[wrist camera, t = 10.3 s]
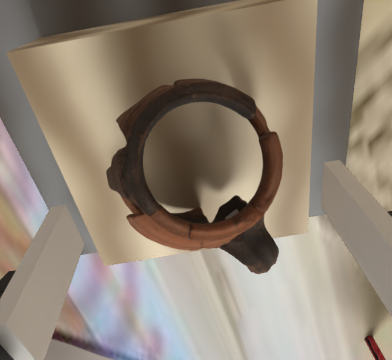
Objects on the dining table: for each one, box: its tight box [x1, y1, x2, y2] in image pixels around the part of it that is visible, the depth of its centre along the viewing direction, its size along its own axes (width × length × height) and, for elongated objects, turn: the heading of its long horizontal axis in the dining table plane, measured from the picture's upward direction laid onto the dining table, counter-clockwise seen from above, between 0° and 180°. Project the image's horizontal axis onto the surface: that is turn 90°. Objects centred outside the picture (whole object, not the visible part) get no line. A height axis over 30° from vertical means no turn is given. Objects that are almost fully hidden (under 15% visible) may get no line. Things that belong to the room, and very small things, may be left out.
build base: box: [0, 0, 364, 266], centre depth 23 cm, size 26×22×6 cm
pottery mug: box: [106, 79, 283, 274], centre depth 18 cm, size 12×9×8 cm
